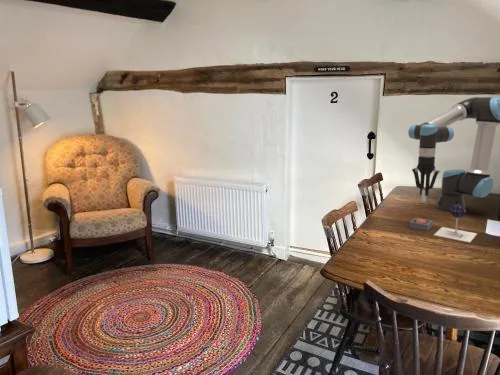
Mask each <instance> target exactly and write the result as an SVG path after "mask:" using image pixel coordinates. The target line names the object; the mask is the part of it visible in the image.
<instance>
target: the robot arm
mask: <svg viewBox="0 0 500 375" xmlns="http://www.w3.org/2000/svg"><path fill="white" fill-rule="evenodd" d="M466 119H467V120H468V119H475V123H476V125H477V129H476V136H475V140H474V144H473V153H472V156H471V161H470V168H469V169H467V170H464V169H447V170H444V171H443V173H442V177H441V179H442V181H441V191H440V196H439V199H437V202H436V208H437V209H439V210H441V211H447V212H450V209H451V208H452V206H454V205H456V204H460V205H462V206H463V207H464V208H465V209H466V202H465V199H464V195H467V196H471V197H474V198H482V199H483V198H485V197H487V196H489V194H490V193H491V192H492V190H493V188H494V180H493V178H492V177H490V176H491V173H490V172H489V165H490V160H491V155H492V150H493V145H494V140H495V136H496V129H497V127H498V126H499V125H500V97H496V96H494V97H493V96H490V97H485V96H484V97H481V96H480V97H479V96H478V97H477V96H475V97H470V98H467V99H465V100H462V101H459V102H457V103H456V104H454V105H452V107H451V108H449V109H448V110H446V111H444V112H442V113H440V114H438V115H437V116H434V117H432V118H431V119H429V120H427V121H425V122H423V123H421V124H413V125H410V126H409V128H408V132H407V133H408V137H409V138H410V139H414V140H416V141H417V140H419V145H418V146H419V147H418V155H419V156H418V159H417V160H418V163H417V165H416V167H414V168H412V169H411V171H412V173H413V175H414V181H415V186H416V188H418V189H419V195H420V196H421V199H420V202H422V203H425V202H427V197H428V196H429V193H430V190H431V189H433V187H435V186H434V185H435V184H436V179H437V177H438V175H439V173H441V172H440V171H441V170H439V169H436V166H435V161H436V157H435V156H436V149H437V147H436V146H437V143H446V142H450V141H451V140H453V138H454V137H455V131H454V128H452V127H451V126H450V125H452V124H454V123H457V122H458V121H463V120H466ZM419 173H420V176H419ZM432 173H433V176H432V179H431V174H432ZM430 180H431V181H430Z"/></svg>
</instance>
